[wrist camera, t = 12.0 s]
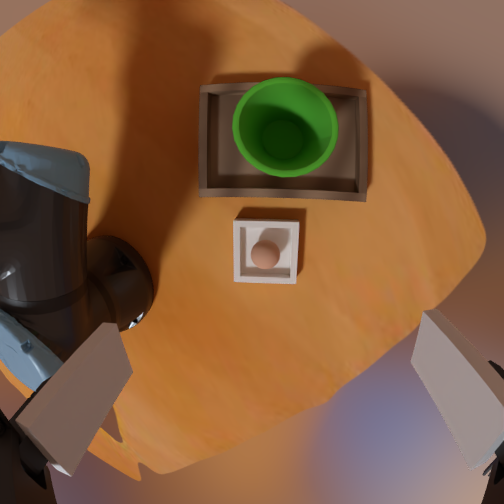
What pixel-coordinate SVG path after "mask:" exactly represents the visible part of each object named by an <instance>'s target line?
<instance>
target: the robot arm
mask: <svg viewBox="0 0 504 504" xmlns="http://www.w3.org/2000/svg"><path fill="white" fill-rule="evenodd" d="M89 176H90V167H89V163H88V160H87V159H86V158H85V156H84V155H82V154H80V153H78V152H75V151H71V150H66V149H61V148H55V147H49V146H43V145H37V144H29V143H21V142H10V141H0V359H1V360H2V362H3V363H4V364H5V366H6V367H7V368H8V369H9V370H10V371H11V372H12V373H13V375H14V376H15V377H17V378H18V379H19V380H20V381H21V382H22V383H23V384H25V385H26V386H27V387H29V388H30V389H32V390H33V391H34V392H33V393H32V394H31V397H30V398H28V399H27V400H26V401H25V403H24V404H23V405H22V406H21V407H20V408H19V410H18V411H17V412H16V413H15V414H14V416H13V417H12V418H11V419H10V420H9V421H8V419H7V418H6V416H5V415H4V414H3V412H2V411H1V409H0V504H57V502H56V499H55V494H54V490H53V486H52V481H51V476H50V471H49V469H48V467H47V466H46V463H47V462H48V461H49V462H50V463H51V464H52V465H53V466H54V467H55V468H56V469H57V470H59V471H61V472H63V473H65V474H67V475H69V476H72V475H73V473H74V471H75V470H76V468H77V466H78V464H79V462H80V460H81V459H82V457H83V455H84V453H85V451H86V450H87V448H88V446H89V445H90V443H91V441H92V439H93V438H94V436H95V434H96V433H97V431H98V429H99V427H100V426H101V424H102V422H103V421H104V419H105V417H106V415H107V414H108V412H109V410H110V409H111V407H112V405H113V404H114V402H115V401H116V399H117V397H118V396H119V394H120V392H121V391H122V389H123V387H124V386H125V384H126V383H127V381H128V379H129V378H130V376H131V374H132V373H133V370H132V368H131V365H130V362H129V359H128V357H127V354H126V351H125V348H124V345H123V342H122V339H121V336H120V332H122V331H125V330H127V329H130V328H132V327H134V326H135V325H137V324H138V323H139V322H140V321H141V320H142V319H143V318H144V317H145V315H146V314H147V313H148V311H149V309H150V307H151V305H152V301H153V283H152V278H151V275H150V272H149V270H148V268H147V266H146V264H145V262H144V260H143V259H142V257H141V256H140V255H139V254H138V252H137V251H136V250H135V249H134V248H133V247H132V246H130V245H129V244H128V243H126V242H125V241H123V240H121V239H119V238H116V237H113V236H98V237H95V238H92V239H90V240H88V241H87V216H88V204H89V203H90V198H89ZM411 364H412V365H413V367H414V369H415V370H416V372H417V374H418V375H419V377H420V378H421V380H422V382H423V383H424V385H425V387H426V389H427V390H428V392H429V394H430V395H431V397H432V399H433V400H434V402H435V404H436V406H437V407H438V409H439V411H440V413H441V415H442V417H443V418H444V420H445V422H446V424H447V426H448V428H449V430H450V432H451V433H452V435H453V437H454V439H455V441H456V443H457V445H458V447H459V449H460V451H461V453H462V455H463V457H464V459H465V461H466V463H467V466H468V468H469V470H473V469H474V468H476V467H478V466H480V465H482V464H484V463H485V462H486V461H487V460H488V459H489V458H490V457H491V456H492V454H493V453H494V452H495V454H496V456H497V458H496V459H495V460H494V461H493V462H492V463H491V464H490V465H489V466H488V467H487V468H486V469H485V471H484V473H483V475H486V474H487V472H488V471H489V470H490V469H491V468H492V469H491V472H490V474H489V475H488V476H490V477H489V481H488V484H487V488H486V491H485V494H484V497H483V500H482V503H481V504H504V370H503V369H502V368H501V367H500V366H499V365H497V364H496V363H494V362H492V361H487V360H486V359H485V358H484V357H483V356H482V355H481V354H480V353H479V351H478V350H477V349H476V348H475V347H474V346H473V345H472V344H471V343H470V342H469V341H468V340H467V339H466V337H465V336H464V335H463V334H462V333H461V332H460V331H459V330H458V329H457V328H456V327H455V326H454V325H453V324H452V323H451V322H450V321H449V320H448V319H447V318H446V317H445V316H444V315H443V314H442V313H441V312H440V311H439V310H438V309H433V310H426V311H423V314H422V319H421V323H420V328H419V333H418V337H417V340H416V344H415V348H414V352H413V355H412V359H411Z"/></svg>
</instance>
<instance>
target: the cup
mask: <svg viewBox="0 0 504 504" xmlns="http://www.w3.org/2000/svg"><path fill="white" fill-rule="evenodd" d="M232 131H233V136H234V141H235V143H236V145H237V147H238V149H239V152H240V153H241V154H242V155H243V157H244V158H245V159H246V160H247V161H248V162H249V163H250V164H251V165H253V166H254V167H255V168H257V169H258V170H260V171H263V172H265V173H267V174H269V175H273V176H278V177H297V176H301V175H305V174H308V173H310V172H312V171H314V170H315V169H317V168H319V167H320V166H321V165H322V164H323V163H324V162H325V161H327V160H328V158H329V157H330V155H331V154H332V152H333V150H334V149H335V146H336V143H337V140H338V131H339V124H338V119H337V114H336V112H335V110H334V107H333V105H332V103H331V102H330V100H329V99H328V98H327V97H326V96H325V94H324V93H323V92H322V91H320V90H319V89H318V88H316V87H315V86H314V85H312V84H310V83H308V82H305V81H303V80H300V79H296V78H291V77H276V78H272V79H268V80H264V81H262V82H260V83H258V84H256V85H254V86H253V87H251V88H250V89H249V90H248V91H247V92H246V93H245V94H244V95H243V96H242V98H241V99H240V101H239V102H238V104H237V106H236V109H235V111H234V114H233V121H232Z"/></svg>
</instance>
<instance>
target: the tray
mask: <svg viewBox="0 0 504 504" xmlns="http://www.w3.org/2000/svg"><path fill="white" fill-rule="evenodd" d="M258 83H260V82H248V83H225V84H211V85H200V100H199V197H275V198H305V199H327V200H344V201H360V202H366V196H367V172H368V120H367V96H366V90H361V89H354V88H347V87H339V86H329V85H318V84H312V85H314V86H315V87H316V88H318V89H319V90H320V91H322V92H323V93H324V94H325V96H326V97H327V98H328V99H329V100H330V102H331V103H332V105H333V107H334V110H335V112H336V114H337V119H338V124H339V131H338V140H337V143H336V146H335V149H334V150H333V152H332V154H331V155H330V157H329V158H328V160H327V161H325V162H324V163H323V164H322V165H321V166H320V167H319V168H317V169H315V170H314V171H312V172H310V173H308V174H305V175H301V176H297V177H278V176H273V175H269V174H267V173H265V172H263V171H260V170H258V169H257V168H255V167H254V166H253V165H251V164H250V163H249V162H248V161H247V160H246V159H245V158H244V157H243V155H242V154H241V153H240V152H239V149H238V147H237V145H236V143H235V141H234V136H233V131H232V121H233V114H234V111H235V109H236V106H237V104H238V102H239V101H240V99H241V98H242V96H243V95H244V94H245V93H246V92H247V91H248V90H249V89H250V88H251V87H253V86H254V85H256V84H258Z"/></svg>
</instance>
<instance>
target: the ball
mask: <svg viewBox="0 0 504 504" xmlns="http://www.w3.org/2000/svg"><path fill="white" fill-rule="evenodd" d="M251 259H252V261H253V263H254V264H255V265H256V266H257V267H259V268H261V269H270V268H272V267H274V266H275V265H276V264H277V263H278V261H279V259H280V250H279V248H278V246H277V245H276V244H275V243H274V242H272V241H270V240H261V241H259V242H257V243H256V244H255V245H254V246H253V248H252V250H251Z"/></svg>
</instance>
